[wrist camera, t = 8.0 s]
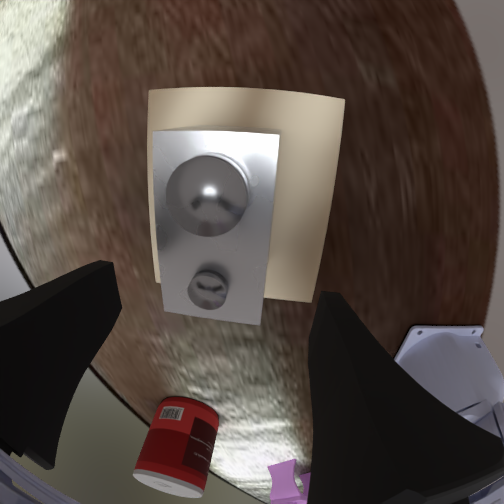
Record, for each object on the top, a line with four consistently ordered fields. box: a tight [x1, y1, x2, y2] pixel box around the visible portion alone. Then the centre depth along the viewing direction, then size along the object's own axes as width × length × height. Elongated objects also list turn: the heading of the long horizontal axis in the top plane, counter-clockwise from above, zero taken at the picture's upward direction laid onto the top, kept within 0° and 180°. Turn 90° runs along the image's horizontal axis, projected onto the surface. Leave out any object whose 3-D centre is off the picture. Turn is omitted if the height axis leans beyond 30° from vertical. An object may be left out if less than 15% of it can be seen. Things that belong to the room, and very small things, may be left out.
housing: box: [153, 125, 281, 325], centre depth 13 cm, size 8×4×7 cm, turn 176°
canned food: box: [133, 397, 219, 498], centre depth 25 cm, size 8×8×11 cm
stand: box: [147, 87, 345, 303], centre depth 17 cm, size 11×13×2 cm
